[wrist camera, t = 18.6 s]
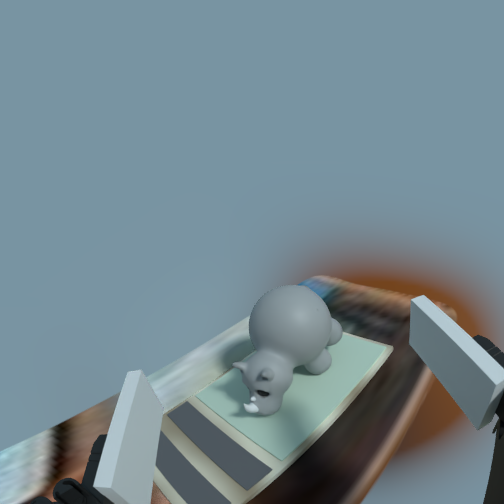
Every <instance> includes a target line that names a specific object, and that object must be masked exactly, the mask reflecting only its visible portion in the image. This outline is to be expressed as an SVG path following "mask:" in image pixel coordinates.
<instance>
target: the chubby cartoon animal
mask: <svg viewBox="0 0 504 504" xmlns="http://www.w3.org/2000/svg"><path fill="white" fill-rule="evenodd" d="M249 334H250V338H251V341H252V343H253V345H254V347H255V348H256V350H257V352H256V353H255V354H254V355H252V356H251V357H250V358H249V359H248V360H247V361H246V362H234V363H232V366H233V367H234V368H238V369H239V370H240V372H241V374H242V382H243V383H244V384H245V385H246V386H247V388H248V389H249V403H250V404H248V405H247V404H245V403H244V404H243V405H244V408H245V410H246V411H247V412H250V413H257V414H259V415H264V416H268V415H272V414H274V413H276V412H277V411H278V410H279V409H280V407H281V405H282V401H283V395H284V393H285V392H286V391H287V390H288V389H289V387H290V386H291V384H292V381H293V369H294V368H295V367H297V366H301V365H304V366H305V368H306V369H307V370H308V371H309V372H310V373H312V374H316V375H318V374H322V373H324V372H325V371H327V370H328V369H329V368H330V366H331V363H332V358H331V355H330V353H329V352H328V351H327V350H326V349H325V347H326V346H332V345H335V344H336V343H338V342H339V341H340V340H341V338H342V335H343V330H342V327H341V325H340V324H339V323H338V322H337V321H336V320H335V319H333V318H331V316H330V313H329V310H328V308H327V306H326V304H325V303H324V301H323V300H322V299H321V298H320V297H319V296H318V295H317V294H316V293H314V292H313V291H311V290H310V288H309V287H307V286H297V285H285V286H280V287H277V288H274V289H272V290H270V291H269V292H267V293H266V294H264V295H263V296H262V297H261V298H260V299H259V300H258V302H257V303H256V305H255V306H254V308H253V310H252V312H251V315H250V319H249Z"/></svg>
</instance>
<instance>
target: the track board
mask: <svg viewBox="0 0 504 504" xmlns="http://www.w3.org/2000/svg"><path fill="white" fill-rule="evenodd" d="M343 334H344V335H348V336H351V337H354V338H358V339H361V340H365V341H368V342H372V343H375V344H378V345H382V346H385V347H386V350H385V351H384V352H383V353H382V355H381V356H380V357H379V359H378V360H377V361H376V362H375V364H374V365H373V366H372V367H371V369H370V370H369V371H368V372H367V373H366V375H365V376H364V377H363V378H362V379H361V381H360V382H359V383H358V384H357V385H356V387H355V388H354V389H353V390H352V391H351V392H350V393H349V395H348V396H347V397H346V398H345V399H344V400H343V401H342V402H341V403H340V405H339V406H338V407H337V408H336V409H335V410H334V411H333V412H332V413H331V414H330V415H329V416H328V418H327V419H326V420H325V421H324V422H323V423H322V424H321V425H320V426H319V427H318V428H317V429H316V430H315V431H314V432H313V433H312V434H311V435H310V436H309V437H308V438H307V439H306V440H305V441H304V442H303V443H302V444H301V445H300V446H299V447H298V448H296V449H295V450H294V451H293V452H292V453H291V454H290V455H289V456H288V457H287V458H286V459H285V460H283V461H280V460H279V459H277V458H276V457H274V456H273V455H272V454H270V453H269V452H267V451H266V450H264V449H263V448H261V447H260V446H259V445H257V444H256V443H254V442H253V441H252V440H250V439H249V438H247V437H246V436H245V435H243V434H242V433H241V432H239V431H238V430H237V429H235V428H234V427H233V426H231V425H230V424H229V423H228V422H226V421H225V420H224V419H222V418H221V417H220V416H219V415H217V414H216V413H215V412H214V411H212V410H211V409H210V408H209V407H208V406H206V405H205V404H204V403H203V402H202V401H200V400H199V399H198V398H197V397H196V396H195V395H196V394H198V393H199V392H201V391H202V390H204V389H205V388H207V387H208V386H209V385H211V384H212V383H214V382H215V381H216V380H218V379H219V378H221V377H222V376H223V375H225V374H226V373H228V372H229V371H230V370H232V369H233V368H234V367H232V368H230V369H229V370H227V371H226V372H225V373H223V374H222V375H221V376H219V377H218V378H216V379H215V380H213V381H212V382H211V383H209V384H208V385H206V386H205V387H203V388H202V389H201V390H199V391H198V392H196V393H195V394H193V395H192V396H190V397H189V398H187V399H186V400H185V401H183V402H182V403H180V404H179V405H177V406H176V407H174V408H173V409H171V410H169V411H168V412H166V413H165V414H163V417H162V423H161V429H160V430H161V431H162V432H163V433H164V434H165V435H166V437H167V438H168V439H169V440H170V441H171V442H172V443H173V445H174V446H175V447H176V448H177V449H178V450H179V451H180V452H181V453H182V454H183V456H184V457H185V458H186V459H187V460H188V461H189V462H190V463H191V464H192V465H193V466H194V467H195V468H196V469H197V470H198V471H199V472H200V473H201V474H202V475H203V476H204V477H205V478H206V479H207V480H208V481H209V482H210V483H211V484H212V485H213V486H214V487H215V488H216V489H217V490H218V491H219V492H220V493H221V494H222V495H223V496H225V497H226V498H227V499H228V500H229V501H230V502H231V504H246V503H247V502H249V501H250V500H251V499H252V498H254V497H255V496H256V495H257V494H259V493H260V492H261V491H262V490H263V489H265V488H266V487H267V486H268V485H269V484H270V483H272V482H273V481H274V480H275V479H276V478H277V477H278V476H280V475H281V474H282V473H283V472H284V471H285V470H286V469H287V468H288V467H290V466H291V465H292V464H293V463H294V462H295V461H296V460H297V459H298V458H299V457H300V456H301V455H302V454H303V453H304V452H305V451H306V450H307V449H308V448H309V447H310V446H311V445H312V444H313V443H314V442H315V441H316V440H317V439H318V438H319V437H320V436H321V435H322V434H323V433H324V432H325V431H326V430H327V429H328V428H329V427H330V426H331V425H332V424H333V423H334V421H335V420H336V419H337V418H338V417H339V416H340V415H341V414H342V413H343V412H344V410H345V409H346V408H347V407H348V406H349V405H350V404H351V402H352V401H353V400H354V399H355V398H356V397H357V395H358V394H359V393H360V392H361V391H362V389H363V388H364V387H365V386H366V385H367V383H368V382H369V381H370V380H371V378H372V377H373V376H374V375H375V373H376V372H377V371H378V370H379V368H380V367H381V366H382V364H383V363H384V362H385V360H386V359H387V358H388V356H389V355H390V354H391V352H392V351H393V346H390V345H386V344H382V343H379V342H375V341H372V340H368V339H365V338H361V337H358V336H355V335H351V334H348V333H344V332H343ZM256 351H257V350H255V351H253V352H252V353H251V354H249V355H248V356H247V357H245V358H244V359H243V360H241V361H240V362H243V361H244V360H245V359H247V358H248V357H249V356H251V355H252V354H253V353H255V352H256ZM186 401H188V402H189V403H190V404H191V405H192V406H193V407H195V408H196V409H197V410H198V411H199V412H200V413H201V414H203V415H204V416H205V417H206V418H207V419H208V420H210V421H211V422H212V423H213V424H214V425H215V426H217V427H218V428H219V429H220V430H221V431H223V432H224V433H225V434H226V435H228V436H229V437H230V438H231V439H233V440H234V441H235V442H236V443H238V444H239V445H240V446H242V447H243V448H244V449H245V450H247V451H248V452H249V453H251V454H252V455H253V456H255V457H256V458H257V459H259V460H260V461H262V462H263V463H264V464H266V465H267V466H269V467H270V468H271V469H272V471H271V472H270V473H269V474H268V475H266V476H265V477H264V478H263V479H262V480H260V481H259V482H258V483H257V484H256V485H254V486H253V487H252V488H251V489H249V490H248V491H247V490H246V489H244V488H243V487H242V486H241V485H240V484H238V483H237V482H236V481H235V480H234V479H233V478H231V477H230V476H229V475H228V474H227V473H226V472H225V471H223V470H222V469H221V468H220V467H219V466H218V465H217V464H216V463H215V462H213V461H212V460H211V459H210V458H209V457H208V456H207V455H206V454H205V453H204V452H203V451H202V450H201V449H200V448H199V447H198V446H197V445H196V444H195V443H194V442H193V441H192V440H191V439H190V438H189V437H188V436H187V435H186V434H185V433H184V432H183V431H182V430H181V429H180V428H179V427H178V426H177V425H176V424H175V423H174V422H173V421H172V420H171V419H170V418H169V417H168V415H167V414H168V413H170V412H171V411H173V410H174V409H176V408H177V407H179V406H180V405H182V404H183V403H185V402H186ZM153 481H154V482H155V483H156V485H157V486H158V487H159V489H160V490H161V491H162V492H163V494H164V495H165V496H166V498H167V499H168V500H169V501H170V503H171V504H187V503H186V502H185V501H184V500H183V498H182V497H181V496H180V495H179V494H178V493H177V491H176V490H175V489H174V488H173V487H172V485H171V484H170V483H169V482H168V481H167V479H166V478H165V477H164V476H163V474H162V473H161V472H160V470H159V469H158V468H157V467H156V465H155V470H154V478H153Z"/></svg>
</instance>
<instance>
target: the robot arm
mask: <svg viewBox="0 0 504 504" xmlns="http://www.w3.org/2000/svg"><path fill="white" fill-rule="evenodd" d="M409 344H410V345H411V347H412V348H413V349H414V350H415V351H416V353H417V354H418V355H419V356H420V357H421V359H422V360H423V361H424V362H425V364H426V365H427V366H428V367H429V368H430V370H431V371H432V372H433V373H434V375H435V376H436V377H437V378H438V380H439V381H440V382H441V383H442V385H443V386H444V387H445V388H446V390H447V391H448V392H449V394H450V395H451V396H452V397H453V399H454V400H455V401H456V403H457V404H458V405H459V407H460V408H461V409H462V410H463V412H464V413H465V414H466V416H467V417H468V418H469V420H470V421H471V422H472V424H473V425H474V427H475V428H476V429H477V430H479V429H481V428H482V427H484V426H486V425H487V424H488V423H490V422H491V421H492V419H493V417H494V414H495V413H496V414H497V415H498V417H499V419H498V421H497V423H496V425H495V427H494V429H493V432H492V433H495V431H496V429H497V432H496V440H495V447H494V454H493V460H492V465H491V471H490V476H489V481H488V485H487V490H486V494H485V498H484V502H483V504H504V353H503V352H501V350H500V349H499V348H497V347H495V345H494V344H493V343H492V342H491V341H490V340H488V339H487V338H485V337H482V336H480V335H477V336H475V337H473V338H471V337H470V336H469V335H468V334H467V333H466V332H465V331H464V330H463V329H462V328H460V327H459V326H458V325H457V324H456V323H455V322H454V321H453V320H452V319H451V318H449V317H448V316H447V315H446V314H445V313H444V312H443V311H442V310H440V309H439V308H438V307H437V306H436V305H435V304H434V303H432V302H431V301H430V300H429V299H428V298H427V297H425V296H424V295H422V296H420V297H417V298H414V299H411V317H410V340H409ZM163 411H164V407H163V406H162V404H161V402H160V401H159V399H158V397H157V396H156V394H155V392H154V390H153V389H152V387H151V385H150V384H149V382H148V380H147V378H146V377H145V375H144V373H143V371H142V370H137V371H130V372H128V373H127V376H126V379H125V382H124V385H123V388H122V391H121V394H120V397H119V400H118V403H117V406H116V409H115V412H114V415H113V418H112V422H111V425H110V428H109V431H108V434H106V435H100V436H99V437H98V438H97V440H96V441H95V442H94V444H93V447H92V450H91V454H90V457H89V462H88V463H87V466H86V470H85V473H84V477H83V480H82V483H81V484H80V483H79V482H77V481H76V480H75V479H72V478H65V479H62V480H60V481H59V482H58V483H57V484H56V485H55V487H54V490H53V497H54V499H55V500H56V501H58V502H51V501H50V500H49V499H48V498H46V497H37V498H35V499H34V500H33V501H32V502H31V504H150V502H151V494H152V486H153V478H154V470H155V463H156V456H157V449H158V442H159V436H160V429H161V423H162V417H163Z"/></svg>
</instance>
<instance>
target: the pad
mask: <svg viewBox="0 0 504 504" xmlns="http://www.w3.org/2000/svg"><path fill="white" fill-rule="evenodd" d="M325 349H326V350H327V351H328V352H329V353H330V355H331V358H332V363H331V366H330V368H329V369H328V370H327V371H325V372H324V373H322V374H318V375H316V374H312V373H310V372H309V371H308V370H307V369H306V368H305V366H304V365H301V366H297V367H295V368H294V369H293V381H292V384H291V386H290V387H289V389H288V390H287V391H286V392H285V393H284V395H283V401H282V405H281V407H280V409H279V410H278V411H277V412H276V413H274V414H272V415H268V416H264V415H259V414H257V413H250V412H247V411H246V410H245V408H244V405H243V404H244V403H245V404H247V405H248V404H250V403H249V389H248V388H247V386H246V385H245V384H244V383H243V382H242V374H241V372H240V370H239V369H238V368H233V369H232V370H230V371H229V372H228V373H226V374H225V375H223V376H222V377H221V378H219V379H218V380H216V381H215V382H214V383H212V384H211V385H209V386H208V387H207V388H205V389H204V390H202V391H201V392H199V393H198V394H196V395H195V396H196V397H197V398H198V399H199V400H200V401H202V402H203V403H204V404H205V405H206V406H208V407H209V408H210V409H211V410H212V411H214V412H215V413H216V414H217V415H219V416H220V417H221V418H222V419H224V420H225V421H226V422H228V423H229V424H230V425H231V426H233V427H234V428H235V429H237V430H238V431H239V432H241V433H242V434H243V435H245V436H246V437H247V438H249V439H250V440H252V441H253V442H254V443H256V444H257V445H259V446H260V447H261V448H263V449H264V450H266V451H267V452H269V453H270V454H272V455H273V456H274V457H276V458H277V459H279V460H280V461H283V460H285V459H286V458H287V457H288V456H289V455H290V454H291V453H292V452H293V451H294V450H295V449H296V448H298V447H299V446H300V445H301V444H302V443H303V442H304V441H305V440H306V439H307V438H308V437H309V436H310V435H311V434H312V433H313V432H314V431H315V430H316V429H317V428H318V427H319V426H320V425H321V424H322V423H323V422H324V421H325V420H326V419H327V418H328V416H329V415H330V414H331V413H332V412H333V411H334V410H335V409H336V408H337V407H338V406H339V405H340V403H341V402H342V401H343V400H344V399H345V398H346V397H347V396H348V395H349V393H350V392H351V391H352V390H353V389H354V388H355V387H356V385H357V384H358V383H359V382H360V381H361V379H362V378H363V377H364V376H365V375H366V373H367V372H368V371H369V370H370V369H371V367H372V366H373V365H374V364H375V362H376V361H377V360H378V359H379V357H380V356H381V355H382V353H383V352H384V351H385V350H386V347H385V346H382V345H378V344H375V343H372V342H368V341H365V340H361V339H358V338H354V337H351V336H348V335H344V334H343V335H342V338H341V340H340V341H339V342H338V343H336V344H335V345H332V346H326V347H325ZM256 352H257V351H256ZM256 352H255V353H256ZM255 353H253V354H252V355H254V354H255ZM252 355H251V356H252ZM251 356H249V357H248V358H247V359H245V360H244V361H243V362H246V361H247V360H248V359H249V358H250V357H251Z"/></svg>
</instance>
